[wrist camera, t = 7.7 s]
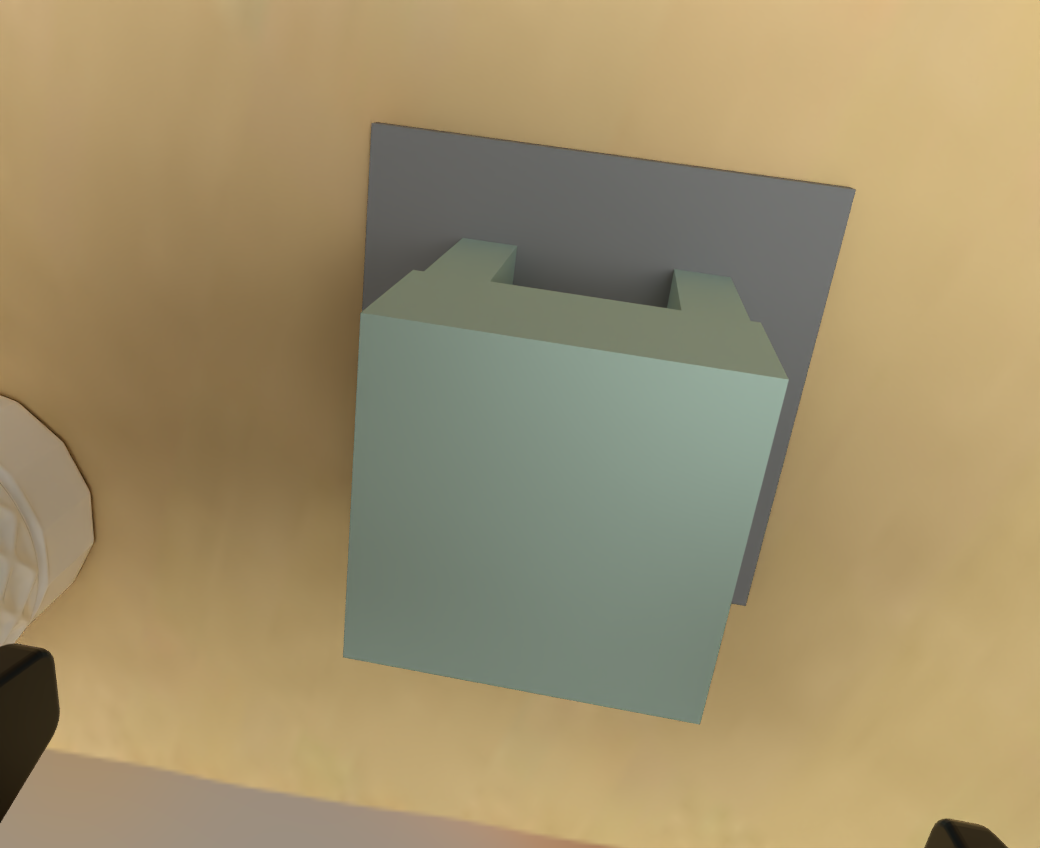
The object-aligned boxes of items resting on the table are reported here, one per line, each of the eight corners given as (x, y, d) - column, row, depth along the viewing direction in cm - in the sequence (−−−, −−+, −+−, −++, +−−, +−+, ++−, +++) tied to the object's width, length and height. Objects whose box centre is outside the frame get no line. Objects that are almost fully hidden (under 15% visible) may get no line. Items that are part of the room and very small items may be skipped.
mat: (851, 187, 18) (855, 189, 17) (743, 596, 21) (745, 605, 21) (376, 122, 18) (371, 122, 18) (355, 528, 22) (350, 536, 22)
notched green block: (681, 520, 20) (700, 724, 14) (435, 479, 21) (342, 657, 14) (736, 273, 18) (789, 379, 12) (459, 232, 19) (360, 312, 12)
